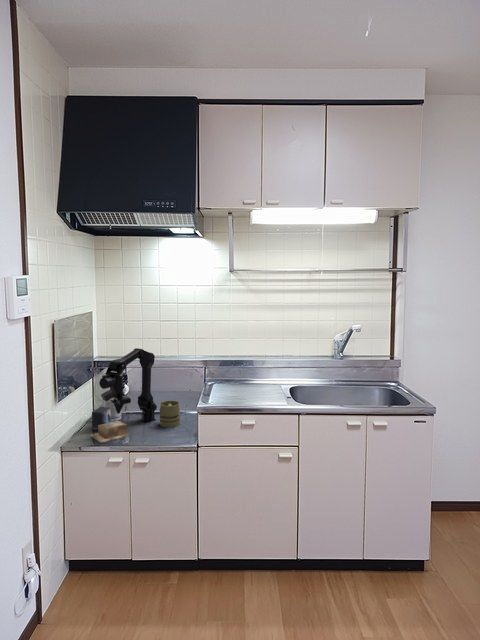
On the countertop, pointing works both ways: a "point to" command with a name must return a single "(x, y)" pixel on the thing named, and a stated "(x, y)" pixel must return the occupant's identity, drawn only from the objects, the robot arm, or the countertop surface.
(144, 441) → the countertop surface
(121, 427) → the brown rectangular block
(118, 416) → the supplement tub
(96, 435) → the cutting board
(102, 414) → the small box
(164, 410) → the piston
